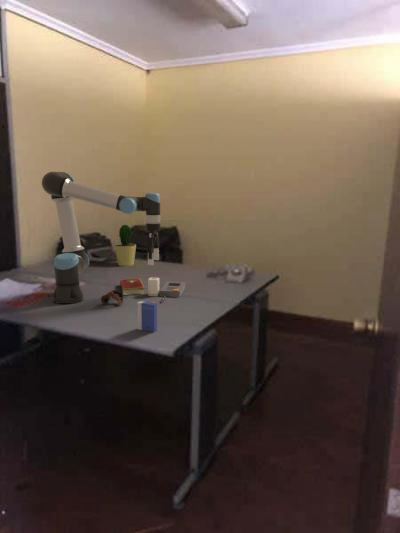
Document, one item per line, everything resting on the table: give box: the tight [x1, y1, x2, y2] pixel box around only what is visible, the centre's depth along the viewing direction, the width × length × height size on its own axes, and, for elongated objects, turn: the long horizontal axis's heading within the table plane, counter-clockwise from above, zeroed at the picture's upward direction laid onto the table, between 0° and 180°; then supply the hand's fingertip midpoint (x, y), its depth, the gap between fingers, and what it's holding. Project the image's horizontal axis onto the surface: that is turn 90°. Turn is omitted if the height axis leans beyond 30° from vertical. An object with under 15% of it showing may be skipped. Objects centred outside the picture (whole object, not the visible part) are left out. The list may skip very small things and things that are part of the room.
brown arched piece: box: [100, 289, 125, 307], centre depth 194 cm, size 12×10×8 cm
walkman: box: [136, 300, 158, 333], centre depth 162 cm, size 8×3×12 cm, turn 68°
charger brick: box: [147, 277, 161, 297], centre depth 213 cm, size 5×5×9 cm
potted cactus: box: [114, 224, 137, 267], centre depth 286 cm, size 15×15×30 cm
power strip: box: [159, 281, 186, 304], centre depth 214 cm, size 32×11×4 cm, turn 174°
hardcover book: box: [119, 278, 145, 296], centre depth 223 cm, size 12×21×4 cm, turn 14°
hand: (153, 262), depth 210 cm, fingers open, 13 cm apart
